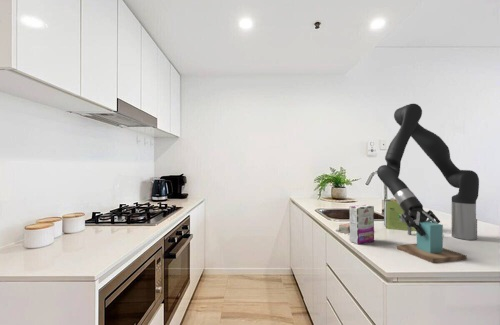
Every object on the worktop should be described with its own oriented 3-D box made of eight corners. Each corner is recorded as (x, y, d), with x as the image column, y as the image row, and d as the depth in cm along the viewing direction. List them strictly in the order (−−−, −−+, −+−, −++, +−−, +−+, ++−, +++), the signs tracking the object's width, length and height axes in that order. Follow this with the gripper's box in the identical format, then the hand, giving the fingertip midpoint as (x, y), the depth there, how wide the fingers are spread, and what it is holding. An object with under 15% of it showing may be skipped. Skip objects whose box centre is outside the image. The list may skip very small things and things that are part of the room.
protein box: (418, 231, 135) (418, 202, 136) (386, 228, 141) (386, 200, 141) (413, 227, 145) (413, 200, 145) (383, 224, 151) (383, 198, 151)
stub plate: (427, 246, 110) (427, 235, 110) (466, 259, 95) (466, 247, 95) (397, 248, 107) (397, 238, 107) (432, 263, 91) (432, 250, 91)
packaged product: (350, 227, 126) (335, 222, 134) (350, 236, 126) (335, 232, 134) (374, 223, 134) (358, 219, 143) (374, 232, 134) (358, 228, 143)
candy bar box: (365, 238, 121) (365, 204, 121) (374, 241, 117) (374, 205, 117) (348, 241, 116) (348, 205, 116) (357, 244, 112) (358, 207, 112)
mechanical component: (422, 236, 126) (422, 216, 126) (399, 234, 128) (399, 215, 129) (419, 234, 129) (419, 214, 129) (397, 233, 131) (397, 214, 131)
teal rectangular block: (428, 247, 104) (428, 221, 105) (442, 252, 99) (442, 224, 99) (416, 248, 103) (416, 222, 103) (430, 253, 97) (430, 225, 97)
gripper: (399, 196, 107) (423, 230, 96) (426, 195, 110) (453, 228, 99) (389, 206, 112) (411, 240, 101) (415, 205, 115) (440, 238, 104)
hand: (432, 234), depth 100 cm, fingers open, 8 cm apart
